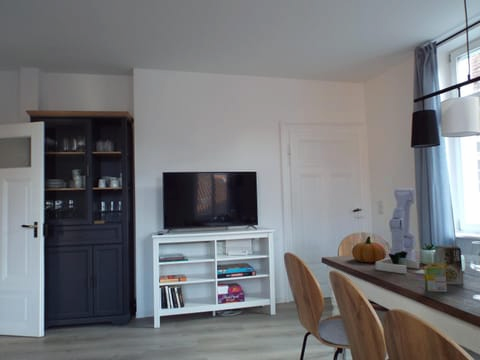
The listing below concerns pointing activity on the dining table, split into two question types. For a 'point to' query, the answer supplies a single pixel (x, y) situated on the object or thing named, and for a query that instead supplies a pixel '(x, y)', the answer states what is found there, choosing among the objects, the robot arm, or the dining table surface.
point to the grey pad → (420, 272)
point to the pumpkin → (368, 252)
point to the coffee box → (450, 263)
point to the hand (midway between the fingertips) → (398, 266)
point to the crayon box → (435, 277)
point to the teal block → (401, 261)
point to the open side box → (395, 265)
